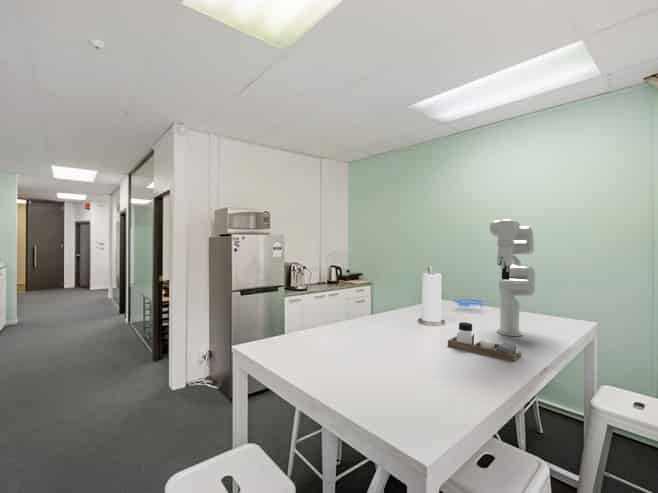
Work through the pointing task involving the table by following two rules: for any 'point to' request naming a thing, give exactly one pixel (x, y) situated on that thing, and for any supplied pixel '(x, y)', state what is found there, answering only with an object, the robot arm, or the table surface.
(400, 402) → the table surface
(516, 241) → the robot arm
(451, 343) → the wooden compartment tray
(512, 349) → the grey rectangular block
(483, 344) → the white rounded lump
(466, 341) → the medicine bottle
